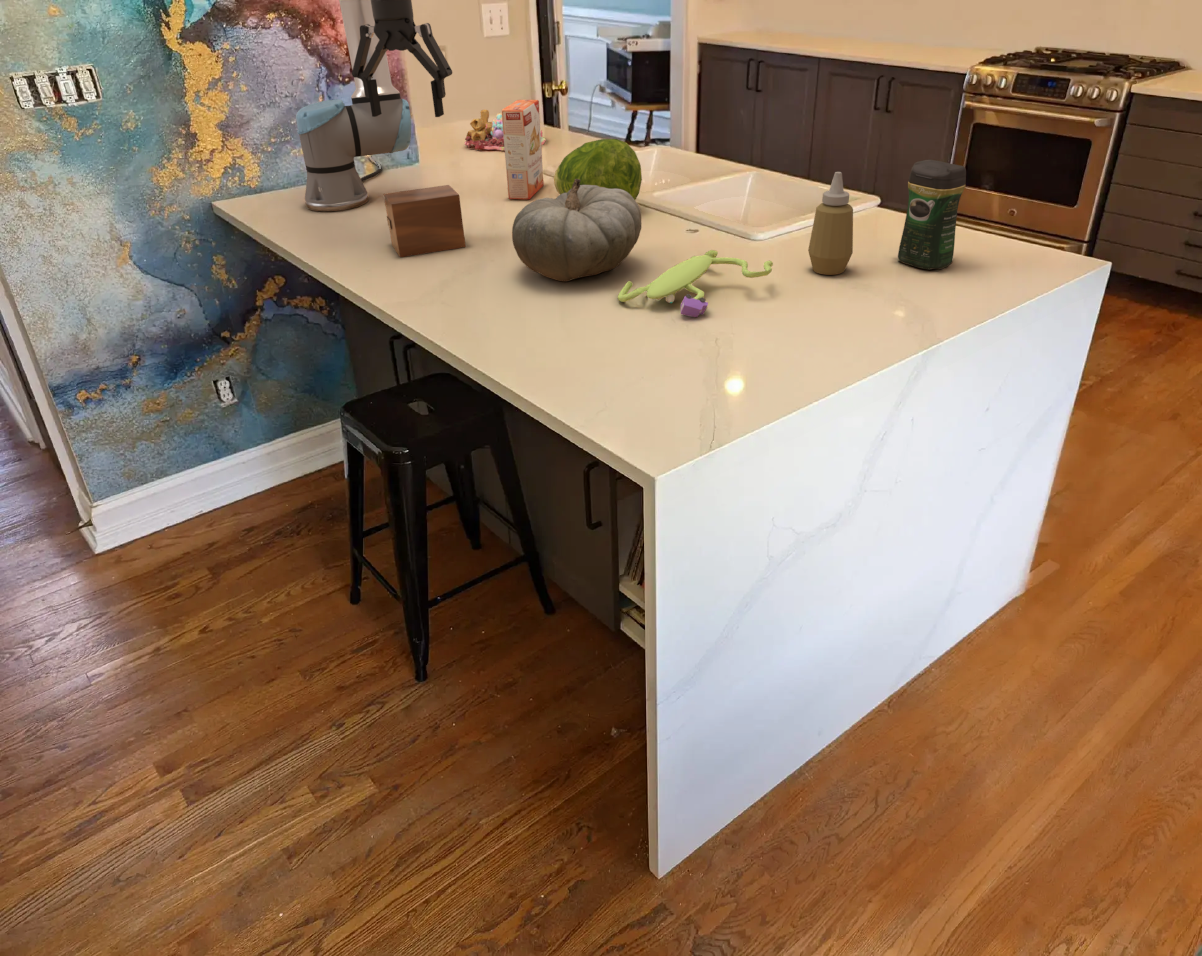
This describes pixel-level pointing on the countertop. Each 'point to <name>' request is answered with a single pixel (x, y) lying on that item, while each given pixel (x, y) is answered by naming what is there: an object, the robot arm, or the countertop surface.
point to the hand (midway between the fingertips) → (408, 115)
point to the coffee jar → (931, 214)
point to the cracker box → (523, 148)
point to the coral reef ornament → (488, 133)
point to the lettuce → (601, 167)
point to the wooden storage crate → (425, 220)
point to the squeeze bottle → (832, 231)
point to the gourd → (577, 232)
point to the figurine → (688, 281)
